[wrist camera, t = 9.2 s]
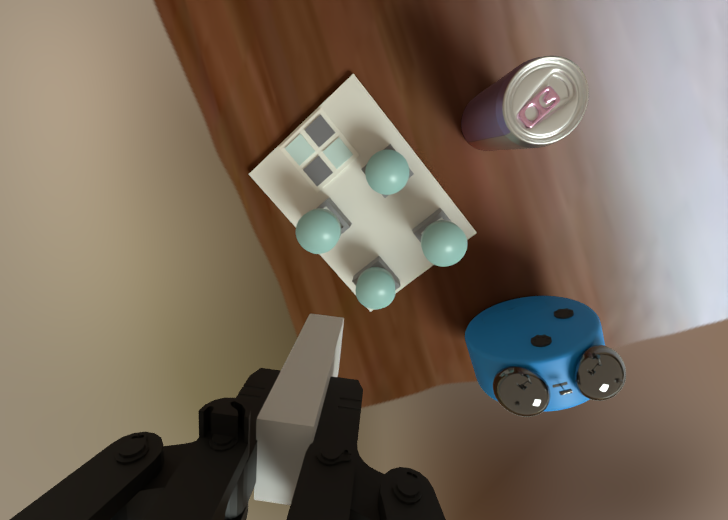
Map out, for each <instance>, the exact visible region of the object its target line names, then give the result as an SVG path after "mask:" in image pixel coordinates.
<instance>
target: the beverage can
mask: <svg viewBox="0 0 728 520" xmlns="http://www.w3.org/2000/svg"><path fill="white" fill-rule="evenodd" d="M588 97H589V91H588V84H587V80H586V78H585V76H584V74H583V72H582V71H581V69H580V68H579V67H578V66H577V65H576V64H575V63H574V62H572V61H570V60H569V59H566V58H564V57H560V56H544V57H538V58H534V59H531V60H528V61H526V62H524V63H522V64H521V65H519V66H518V67H516V68H515V69H513V70H512V71H511V72H509V73H508V74H506V75H505V76H504V77H502V78H501V79H499V80H498V81H497V82H495V83H494V84H492V85H491V86H489V87H488V88H487V89H485V90H484V91H482V92H481V93H480V94H478V95H477V96H475V97H474V98H473V99H472V100H471V101H470V102H469V103H468V104H467V106H466V108H465V109H464V112H463V115H462V119H461V128H462V133H463V135H464V137H465V139H466V141H467V142H468V143H469V144H470V145H471V146H473V147H474V148H476V149H479V150H483V151H493V150H510V149H527V148H540V147H545V146H548V145H551V144H553V143H555V142H557V141H558V140H560V139H562V138H564V137H565V136H567V135H568V134H569V133H570V132H571V131H573V130H574V128H575V127H576V126H577V125H578V124H579V122H580V121H581V119H582V117H583V115H584V113H585V111H586V108H587V104H588Z"/></svg>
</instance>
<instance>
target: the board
mask: <svg viewBox="0 0 728 520" xmlns="http://www.w3.org/2000/svg"><path fill="white" fill-rule="evenodd" d="M381 150H394V151H396V152H398V153H400V154H401V155H402V156H403V157H404V158H405V159H406V161H407V163H408V166H409V178H408V181H407V183H406V185H405V186H404V187H403V188H402V189H401V190H400V191H398V192H397V193H394V194H391V195H384V194H380V193H377V192H376V191H374V190H373V189H372V188H371V187H370V186H369V184H368V182H367V180H366V175H365V170H366V165H367V163H368V161H369V159H370V158H371V157H372V156H373V155H374V154H375V153H377V152H379V151H381ZM249 175H250V176H251V177H252V179H253V180H254V181H255V182H256V183H257V184H258V185H259V186H260V188H261V189H262V190H263V191H264V192H265V193H266V194H267V195H268V197H269V198H270V199H271V200H272V201H273V202H274V203H275V204H276V206H277V207H278V208H279V209H280V210H281V211H282V212H283V214H284V215H285V216H286V217H287V218H288V219H289V220H290V221H291V223H292V224H293V225H294V226H295V227H296V226H297V223H298V221H299V219H300V218H301V217H302V216H303V215H304V214H306V213H307V212H309V211H311V210H313V209H317V208H323V209H327V210H329V211H331V212H332V213H334V214H335V215H336V216H337V218H338V219H339V221H340V224H341V236H340V238H339V240H338V242H337V243H336V245H335V246H334V248H332V249H331V250H330V251H328V252H326V253H322V254H320V255H321V256H322V258H323V259H324V260H325V261H326V262H327V263H328V264H329V265H330V267H331V268H332V269H333V270H334V271H335V272H336V273H337V274H338V276H339V277H340V278H341V279H342V280H343V281H344V282H345V284H346V285H347V286H348V287H349V288H350V289H351V290H352V291H353V293H354V294H355V295H356V291H355V290H356V284H357V280H358V278H359V276H360V274H361V273H362V272H363V271H365V270H366V269H368V268H371V267H380V268H383V269H385V270H387V271H388V272H390V273H391V275H392V276H393V278H394V281H395V293H397V292H398V291H399V290H401V289H402V288H403V287H405V286H406V285H407V284H409V283H410V282H411V281H413V280H414V279H415V278H417V277H418V276H419V275H421V274H422V273H424V272H425V271H426V270H428V269H429V268H430V267H432V266H433V265H434V264H432V263H431V262H429V261H428V260H427V258H426V257H425V255H424V253H423V250H422V247H421V236H422V233H423V231H424V230H425V229H426V227H427V226H428V225H430V224H431V223H433V222H435V221H439V220H447V221H451V222H453V223H455V224H456V225H457V226H458V227H459V228H460V229H461V230H462V231H463V232H464V234H465V236H466V238H467V240H468V239H469V238H471V237H472V236H473V235H475V234H476V233H477V232H476V231H475V230H474V228H473V227H472V226H471V225H470V223H469V222H468V221H467V219H466V218H465V217H464V216H463V214H462V213H461V212H460V210H459V209H458V208H457V207H456V205H455V204H454V203H453V201H452V200H451V199H450V198H449V196H448V195H447V194H446V192H445V191H444V190H443V189H442V187H441V186H440V185H439V183H438V182H437V181H436V179H435V178H434V177H433V176H432V174H431V173H430V172H429V170H428V169H427V168H426V167H425V165H424V164H423V163H422V161H421V160H420V159H419V158H418V156H417V155H416V154H415V152H414V151H413V150H412V149H411V147H410V146H409V145H408V143H407V142H406V141H405V140H404V138H403V137H402V136H401V134H400V133H399V132H398V130H397V129H396V128H395V127H394V125H393V124H392V123H391V121H390V120H389V119H388V118H387V116H386V115H385V114H384V112H383V111H382V110H381V109H380V107H379V106H378V105H377V103H376V102H375V101H374V100H373V98H372V97H371V96H370V94H369V93H368V92H367V91H366V89H365V88H364V87H363V85H362V84H361V83H360V81H359V80H358V79H357V78H356V76H355V75H354V74H352V75H351V76H350V77H349V78H348V79H347V80H346V81H345V82H344V83H343V84H342V85H341V86H340V87H339V88H338V89H337V90H336V91H335V92H334V93H333V94H332V95H331V96H330V97H328V98H327V99H326V100H325V101H324V102H323V103H322V104H321V105H320V106H319V107H318V108H317V109H316V110H315V111H314V112H313V113H312V114H311V115H310V116H309V117H308V118H307V119H306V120H305V121H303V122H302V123H301V124H300V125H299V126H298V127H297V128H296V129H295V130H294V131H293V132H292V133H291V134H290V135H289V136H288V137H287V138H286V139H285V140H284V141H283V142H282V143H281V144H280V145H278V146H277V147H276V148H275V149H274V150H273V151H272V152H271V153H270V154H269V155H268V156H267V157H266V158H265V159H264V160H263V161H262V162H261V163H260V164H259V165H258V166H257V167H256V168H255V169H253V170H252V171H251V172H250V173H249ZM368 309H369V311H370V312H371V311H372V310H374V309H370V308H368Z"/></svg>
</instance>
